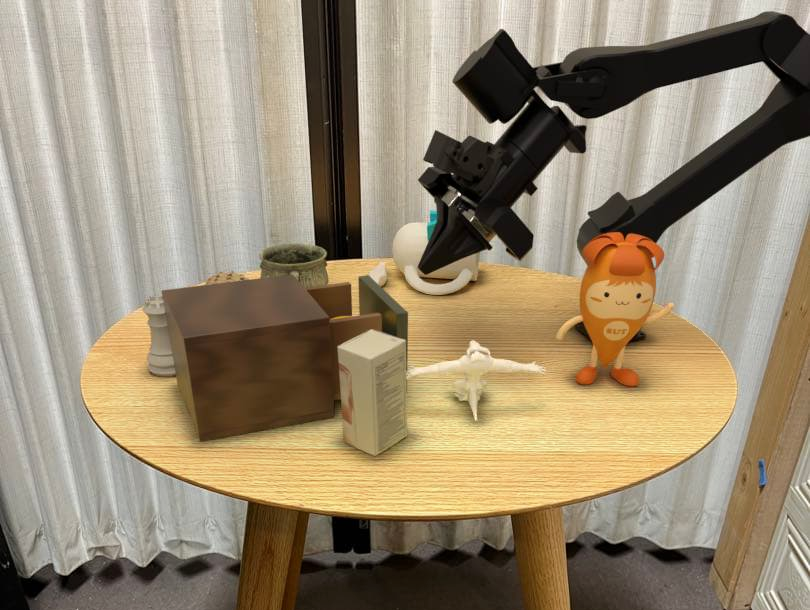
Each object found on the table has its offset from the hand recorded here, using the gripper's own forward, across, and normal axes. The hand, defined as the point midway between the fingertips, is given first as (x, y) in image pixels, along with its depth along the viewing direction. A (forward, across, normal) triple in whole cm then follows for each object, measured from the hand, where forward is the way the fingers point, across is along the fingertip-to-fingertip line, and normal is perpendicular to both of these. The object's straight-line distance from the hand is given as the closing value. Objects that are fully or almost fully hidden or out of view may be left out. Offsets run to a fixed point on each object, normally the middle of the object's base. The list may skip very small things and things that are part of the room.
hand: (421, 271), depth 92 cm
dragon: (+7, +15, +6) cm, 18 cm away
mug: (-1, -21, +14) cm, 25 cm away
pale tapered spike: (+6, -20, +8) cm, 22 cm away
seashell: (+20, -17, -7) cm, 27 cm away
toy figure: (-5, +13, +19) cm, 24 cm away
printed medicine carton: (+15, +18, -2) cm, 24 cm away
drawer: (+14, +6, -2) cm, 16 cm away
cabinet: (+22, +6, -8) cm, 24 cm away
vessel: (+13, -20, 0) cm, 24 cm away
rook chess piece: (+27, -5, -13) cm, 30 cm away
